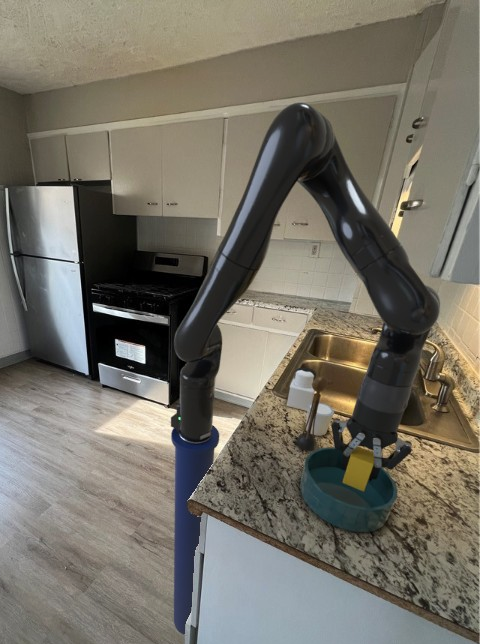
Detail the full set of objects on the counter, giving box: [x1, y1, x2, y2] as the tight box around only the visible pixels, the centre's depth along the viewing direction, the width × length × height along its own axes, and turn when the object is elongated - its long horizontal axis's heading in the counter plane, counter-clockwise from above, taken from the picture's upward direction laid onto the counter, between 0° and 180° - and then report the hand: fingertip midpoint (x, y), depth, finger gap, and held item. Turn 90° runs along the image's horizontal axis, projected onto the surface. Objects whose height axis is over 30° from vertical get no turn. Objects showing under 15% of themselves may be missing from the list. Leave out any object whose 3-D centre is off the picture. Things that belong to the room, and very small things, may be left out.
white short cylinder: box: [305, 402, 335, 437], centre depth 87 cm, size 7×7×7 cm
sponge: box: [343, 445, 374, 492], centre depth 62 cm, size 4×4×7 cm
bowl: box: [299, 446, 398, 533], centre depth 66 cm, size 17×17×6 cm
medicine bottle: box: [286, 367, 317, 412], centre depth 98 cm, size 7×7×12 cm
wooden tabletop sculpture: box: [295, 375, 334, 452], centre depth 78 cm, size 6×5×20 cm
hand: (357, 472), depth 63 cm, fingers closed on sponge, 4 cm apart
